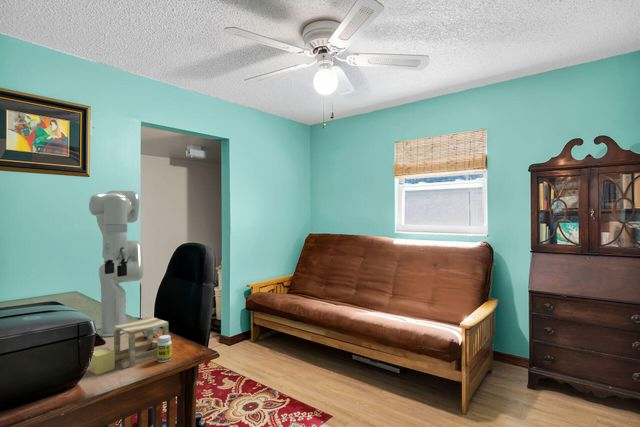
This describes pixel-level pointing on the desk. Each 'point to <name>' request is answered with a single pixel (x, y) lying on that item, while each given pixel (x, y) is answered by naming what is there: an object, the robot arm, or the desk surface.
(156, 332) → the game die
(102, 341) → the desk surface
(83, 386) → the desk surface
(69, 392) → the desk surface
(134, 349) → the birch shelf
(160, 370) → the desk surface
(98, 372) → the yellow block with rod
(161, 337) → the supplement bottle
